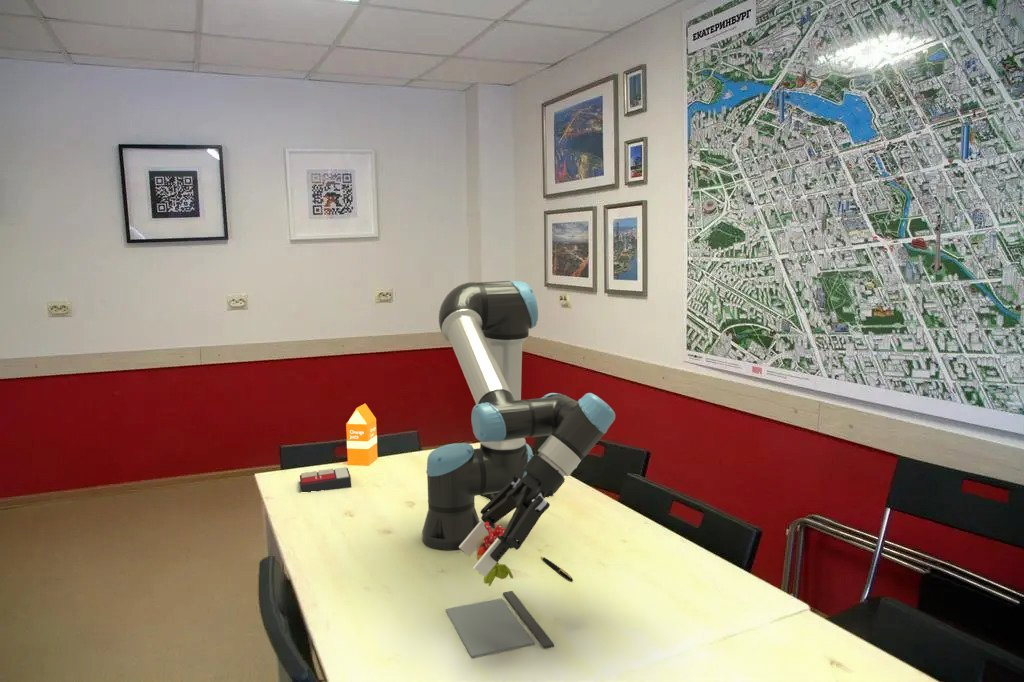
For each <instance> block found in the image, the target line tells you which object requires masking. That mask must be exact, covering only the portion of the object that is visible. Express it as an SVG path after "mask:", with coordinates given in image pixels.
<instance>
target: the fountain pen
mask: <svg viewBox="0 0 1024 682" xmlns="http://www.w3.org/2000/svg"><path fill="white" fill-rule="evenodd" d="M540 559H542V561H543V562H544V563H545V562H546V563H545V564H547V565H548V566H549V567H551V569H553V570H554V571H555V570H556V571H555V572H557V573H558V574H559V575H560V574H561V575H560V576H562V577H563V578H564V577H565V578H564V579H566V580H567V579H568V581H569V580H570V581H569V582H573V581H574V580H573V577H572V576H571V575H570V574H569V573H568V572H566V571H565V570H564V569H563V568H561V567H560V566H558V565H557V564H555V563H554V562H552V560H551V561H550V560H549V559H547V558H546V557H543V556H540Z"/></svg>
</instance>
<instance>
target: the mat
mask: <svg viewBox="0 0 1024 682" xmlns="http://www.w3.org/2000/svg"><path fill="white" fill-rule="evenodd" d="M502 595H503V597H505V599H506V600H507V601H508V603H509V604H510V606H511V607H512V608H513V610H514V611H515V612H516V614H517V615H518V616H519V617H520V619H521V620H522V622H523V623H524V625H525V626H526V627H527V628H528V630H529V631H530V632H531V635H533V636H534V638H535V639H536V640H537V642H538V643H539V644H540V646H541V648H543V649H544V650H545V649H549V648H550V649H551V648H553V647H555V643H554V642H553V641H552V640H551V638H550V637H549V636H548V634H547V633H546V632H545V631H544V629H543V628H542V627H541V625H540V624H539V623H538V621H536V619H535V617H533V615H532V614H531V613H530V612H529V610H528V609H527V608H526V606H525V605H524V604H523V602H522V601H521V600H520V599H519V598H518V596H517V595H516V594H515V592H514V591H513V590H510V591H509V590H508V591H505V592H503V594H502ZM510 606H508V604H507V602H506V601H505V600H504V599H503V598H502V597H501V598H495V599H490V600H483V601H479V602H475V603H468V604H464V605H459V606H453V607H448V608H445V612H446V614H447V616H448V618H449V619H450V621H451V624H452V625H453V627H454V628H455V630H456V632H457V634H458V636H459V638H460V639H461V641H462V643H463V645H464V647H465V648H466V650H467V653H468V654H469V656H470V657H471V659H474V658H475V659H476V658H479V657H483V656H487V655H492V654H497V653H501V652H506V651H511V650H514V649H520V648H524V647H528V646H529V647H530V646H532V645H535V641H534V639H533V638H532V637H531V636H530V633H528V632H527V630H526V629H525V627H524V626H523V624H522V623H521V622H520V620H519V619H518V618H517V616H516V615H515V613H514V612H513V611H512V610H511V608H510Z"/></svg>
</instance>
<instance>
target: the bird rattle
mask: <svg viewBox="0 0 1024 682" xmlns="http://www.w3.org/2000/svg"><path fill="white" fill-rule="evenodd" d="M484 526H485V528H486V529H487V531H488V535H484V536H482V537H481V538H480V539H479V541H478V545H477V548H476V560H477V562H478V560H479V559H480V558H481V557H482V556H483V554H484V553H485V552H486V551H487V550H488V548H489V547H490V546H491V545H492V544H493V542H494V541H495V540H496V539H497V538H498V536H502V535H503V533H504V531H505V529H506V528H504V527H502V525H500V524H498V525H496V527H495V528H492V527H491V526H490V525H489V523H488V522H486V523H485V524H484ZM491 528H492V529H491ZM477 562H476V563H477ZM508 576H509V577H510V578H509V579H514V575H513V573H512V571H511V569H510V568H509V567H508V566H507V564H505V563H499V561H498V562H497V563H496V564H495V566H494V567H493V568H492V569H491V571H490V572H489V573H488V574H487V575H486V577H484V576H483V583H484V584H485V585H487V584H488V586H489V587H491V585H492V584H493V582H494V580H495V578H498V579H500V580H504V579H507V577H508Z"/></svg>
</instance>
